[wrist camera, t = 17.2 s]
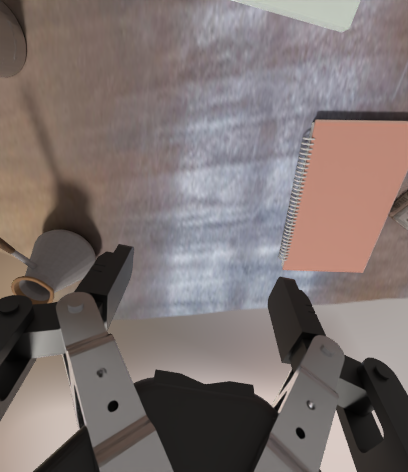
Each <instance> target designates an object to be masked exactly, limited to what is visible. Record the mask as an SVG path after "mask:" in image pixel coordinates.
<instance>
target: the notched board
mask: <svg viewBox="0 0 408 472" xmlns="http://www.w3.org/2000/svg"><path fill="white" fill-rule="evenodd" d="M232 1H235V2H239V3H242V4H245V5H249V6H252V7H256V8H259V9H263V10H266V11H270V12H273V13H276V14H280V15H283V16H287V17H290V18H294V19H297V20H301V21H304V22H307V23H311V24H314V25H318V26H321V27H325V28H328V29H332V30H335V31H338V32H343V31H346V30H348V29H349V28H350V25H351V23H352V20H353V18H354V15H355V13H356V11H357V8H358V6H359V3H360V1H361V0H232Z"/></svg>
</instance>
